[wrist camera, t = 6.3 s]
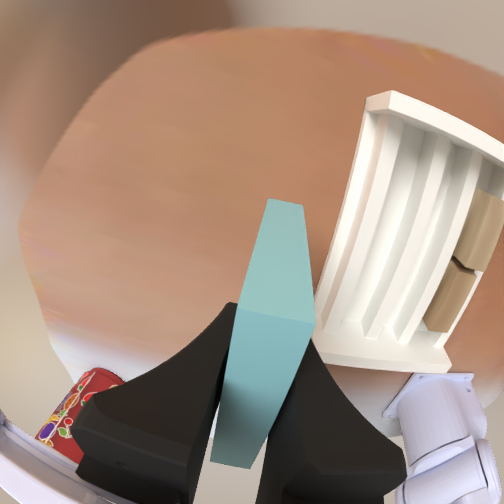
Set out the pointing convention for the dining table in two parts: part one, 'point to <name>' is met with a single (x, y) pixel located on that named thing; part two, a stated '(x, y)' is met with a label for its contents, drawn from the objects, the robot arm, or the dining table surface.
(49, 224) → the dining table surface
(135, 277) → the dining table surface
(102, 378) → the smoothie
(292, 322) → the teal square slab
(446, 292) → the offcut
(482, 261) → the offcut
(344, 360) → the rack
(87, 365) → the dining table surface
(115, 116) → the dining table surface
